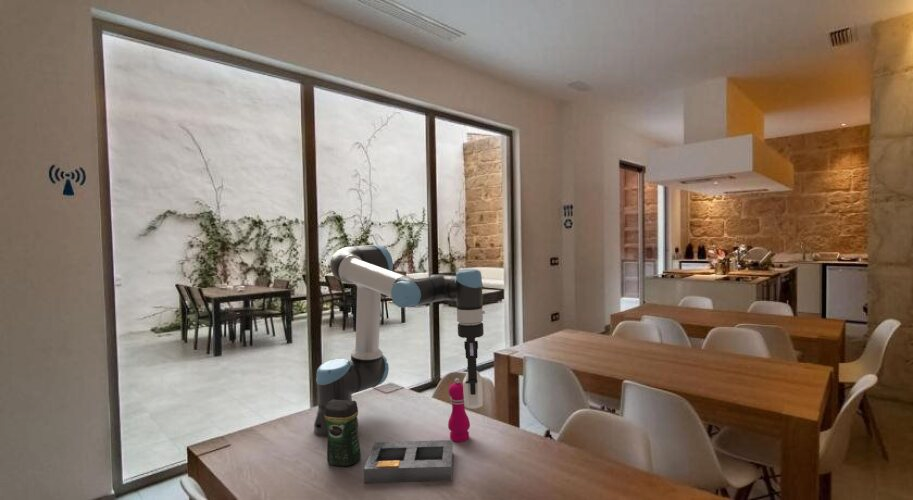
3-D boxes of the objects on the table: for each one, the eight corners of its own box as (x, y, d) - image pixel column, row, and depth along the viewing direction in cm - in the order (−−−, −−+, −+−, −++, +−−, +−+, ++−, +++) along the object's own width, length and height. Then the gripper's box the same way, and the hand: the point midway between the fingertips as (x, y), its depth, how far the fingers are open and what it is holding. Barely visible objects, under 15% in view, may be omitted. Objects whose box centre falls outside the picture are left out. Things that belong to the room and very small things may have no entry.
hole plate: (375, 455, 144) (374, 441, 144) (452, 452, 144) (452, 438, 144) (364, 483, 128) (363, 467, 128) (451, 480, 128) (450, 465, 128)
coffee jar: (364, 456, 144) (361, 397, 143) (351, 469, 136) (348, 407, 135) (337, 453, 147) (334, 395, 146) (322, 465, 139) (319, 404, 138)
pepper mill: (468, 443, 150) (465, 382, 149) (446, 442, 151) (443, 381, 150) (472, 433, 157) (469, 375, 156) (451, 432, 158) (448, 374, 157)
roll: (475, 368, 132) (458, 366, 135) (477, 410, 133) (460, 406, 136) (484, 363, 138) (468, 360, 140) (486, 402, 138) (469, 399, 141)
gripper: (484, 329, 126) (487, 412, 128) (481, 315, 145) (484, 388, 146) (457, 330, 126) (460, 413, 128) (457, 316, 145) (460, 389, 146)
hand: (473, 400), depth 137 cm, fingers closed on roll, 6 cm apart
